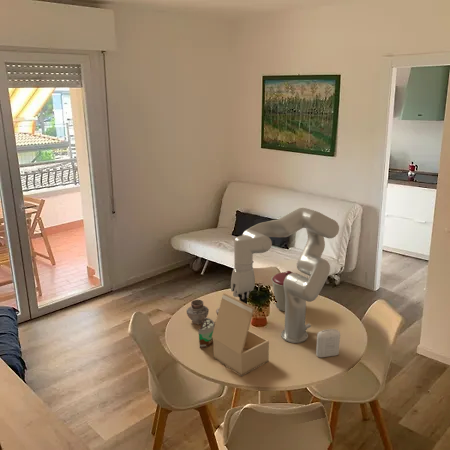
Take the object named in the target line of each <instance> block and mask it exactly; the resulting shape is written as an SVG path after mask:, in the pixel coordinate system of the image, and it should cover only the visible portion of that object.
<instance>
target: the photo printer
mask: <svg viewBox="0 0 450 450" xmlns="http://www.w3.org/2000/svg"><path fill="white" fill-rule="evenodd" d="M340 341H341V333H340V331H339V330H338V329H335V328H327V329H322V330H320V331H318V332H317V335H316V348H315V353H316V354H315V355H316V356H317V357H318V358H327V357H335V356H339V354H340Z"/></svg>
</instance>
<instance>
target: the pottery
mask: <svg viewBox="0 0 450 450" xmlns="http://www.w3.org/2000/svg"><path fill="white" fill-rule="evenodd" d="M190 305H191V306H189V307H188V308H187V309H186V315H187V317H188V319H189V320H191V322H192V323H193V324H195V325H200V324H201V325H202V324H203V322H204V320H205V318H208V316H209V315H208V314H209V312H210V311H209V310H210V309H209V307H208V306H205V305H204V300H201V299H194V300H192V301H191V304H190ZM219 308H220V306H219V307H218V308H217V309H216V310H215V312H216V314H217V315H218V312H219Z"/></svg>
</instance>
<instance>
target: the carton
mask: <svg viewBox="0 0 450 450" xmlns="http://www.w3.org/2000/svg"><path fill="white" fill-rule="evenodd" d="M212 345H213V358H214V359H215V360H216V361H218V362H219V363H221V364H222V365H225V366H226V367H227V368H229V369H231V370H232V371H233V372H235V373H236V374H238V375H240V376H241V377H243V376H244V375H246V374H248V373H249V372H251V371H253V370H256V369H257V368H260V366H263V365H264V364H266V363H268V362H269V361H270V360H269V359H270V358H269V357H270V355H269V353H270V351H269V349H270V341H269V340H268V339H266V338H265V337H263V336H261V335H259V334H257V333H255V332H254V331H252V330H250V329H249V330H248V334H247V337H246V341H245V345H244V349H243V352H242V355H240V354H239V353H237V352H235V351H234V350H232V349H230V348H229V347H227V346H225V345H224V344H222V343H220V342H219V341H217V340H216V339H214V338H213V344H212Z"/></svg>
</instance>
